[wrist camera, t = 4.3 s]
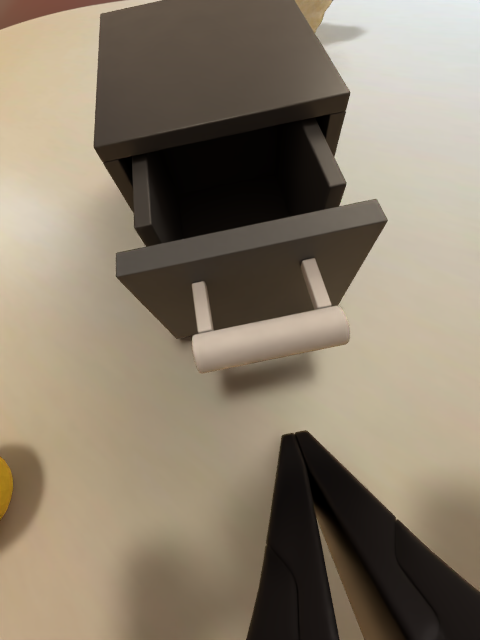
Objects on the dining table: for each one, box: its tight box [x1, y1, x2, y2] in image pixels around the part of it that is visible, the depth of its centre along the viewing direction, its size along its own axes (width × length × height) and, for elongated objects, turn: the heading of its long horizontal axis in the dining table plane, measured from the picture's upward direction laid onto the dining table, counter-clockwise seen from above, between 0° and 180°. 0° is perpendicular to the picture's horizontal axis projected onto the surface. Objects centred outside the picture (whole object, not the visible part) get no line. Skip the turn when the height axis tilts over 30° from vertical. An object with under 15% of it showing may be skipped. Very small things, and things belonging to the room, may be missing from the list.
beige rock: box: [295, 0, 333, 33], centre depth 30 cm, size 15×7×15 cm
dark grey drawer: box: [116, 117, 388, 373], centre depth 16 cm, size 16×11×8 cm, turn 10°
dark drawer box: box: [94, 0, 350, 213], centre depth 19 cm, size 14×12×10 cm
